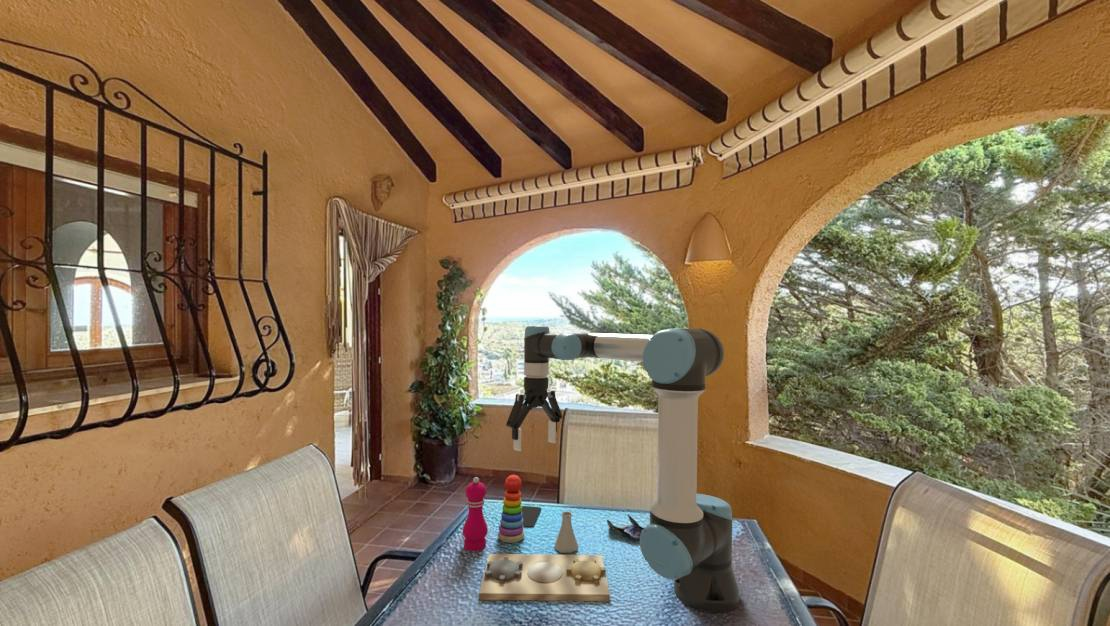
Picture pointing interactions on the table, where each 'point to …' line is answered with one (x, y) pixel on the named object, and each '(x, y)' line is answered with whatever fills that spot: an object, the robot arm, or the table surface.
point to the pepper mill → (475, 517)
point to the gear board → (544, 578)
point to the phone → (530, 515)
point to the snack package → (628, 529)
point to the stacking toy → (512, 512)
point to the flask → (566, 535)
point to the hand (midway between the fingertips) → (535, 446)
